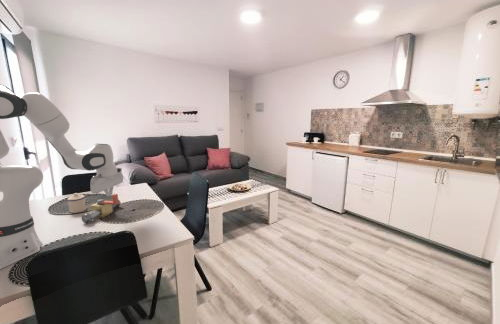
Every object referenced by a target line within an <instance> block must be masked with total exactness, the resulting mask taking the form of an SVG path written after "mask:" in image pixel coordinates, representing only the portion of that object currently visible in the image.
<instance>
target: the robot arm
mask: <svg viewBox="0 0 500 324" xmlns="http://www.w3.org/2000/svg"><path fill="white" fill-rule="evenodd" d="M18 117H25V118H26V119H28V120H29V121H30V123H31V124H32V125H33V126H34V127H35V128H36V129H37V130H39V132H40V133H41V134H42V135H43V137H45V139H46V140H47V141H48V142H49V143H50V145H51V146H52V147H53V148H54V149H55V151H57V153H58V154H59V155H60V156H61V159H62V161H63V164H64V165H65V166H66V167H67V168H68V169H70V170H81V171H88V172H89V171H90V172H91V171H94V170H95V172H96V174H95V175H93V176H92V177H91V179H90V182H89V183H90V185H89V186H90V192H91V193H92V194H99V193H102V192H104V193H105V195H106V196H107V197H110V196H112V195H113V190H114V189H115V188H114V187H115V186H118V185H120V184H122V183H123V182H124V176H123V173H122V171H123V168H122V167H115V164H114V153H113V149H112V146H111V145H110V144H107V143H94V144H93V145H92V147H90V148H89V149H87V150H85V151H83V150H78V149H76V148H75V147H74V146H73V145H72V144H71V143H70V141H69V140H68V139H67V138H66V136H65V134H67V132H68V131H69V129H70V123H69V121H68V119H67V117H66V116H65V115H64V114H63V112H62V111H61V110H60V109H59V108H58V107H57V106H56V105H55V104H54V103H53V102H52V101H51V100H49V99H48V97H46V96H45V95H44V94H42V93H39V92H27V93H24V94H16V93H15V92H13V91H12V90H11V89H10V88H9V87H7V86H5V85H3V84H0V120H7V119H8V120H9V119H13V118H18ZM9 152H10V147H9V144H8V143H7V140H6V139H5V136H4V134H3V132H2V130H1V129H0V160H1V159H4V157H6V156H7V155H8V154H9ZM43 181H44V173H43V172H42V170H41V169H40V168H39V167H37V166H34V165H28V164H27V165H25V164H17V165H15V164H13V165H11V164H10V165H3V164H2V163H1V162H0V193H2V194H3V197H2V199H1V200H0V270H2V269H4V268H6V267H8V266H11V265H12V264H14V263H17V262H19V261H21V260H23V259H25V258H28V257H29V256H32V255H34V254H35V253H38V252H40V251H41V247H42V245H43V243H42V241H41V240H40V238H39V236H38V235H37V231H36V229H35V222H34V217H33V216H32V214H31V209H30V198H31V195H32V193H33V192H34V191H35V190H36V189H37V188H38V187H40V185H41V184H42V183H43Z"/></svg>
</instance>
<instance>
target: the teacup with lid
mask: <svg viewBox="0 0 500 324" xmlns="http://www.w3.org/2000/svg"><path fill="white" fill-rule="evenodd" d="M66 200H67V204H68V210H69V213H70V212H71V214H77V213H78V212H79V213H81V212H85V211H86V210H87V203H86V202H87V201H86V195H85V194H78V193H77V192H75V193H73V195H71V196H69V197H68V198H67V199H66ZM84 210H85V211H84Z"/></svg>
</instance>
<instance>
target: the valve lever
mask: <svg viewBox="0 0 500 324" xmlns="http://www.w3.org/2000/svg"><path fill="white" fill-rule="evenodd" d="M111 196H112V197H111V199H112V200H105V199H101V198H100V199H98V200H96V203H97V204H111V205H117V204H118V203H119V201H120V200H119V196H118V193H114V194H112V195H111ZM118 200H119V201H118Z"/></svg>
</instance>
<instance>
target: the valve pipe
mask: <svg viewBox="0 0 500 324" xmlns="http://www.w3.org/2000/svg"><path fill="white" fill-rule="evenodd" d="M118 201H119V203H118V204H117V205H111V204H97V202H96V203H93V204H91V205H90V211H91V212H90V213H84V214H82V215H81V221H82V222H83V223H84V224H90V223H91V222H92V221H93V220H94V219H96V218H98V219H104V218H106V217H107V216H109V215H111V214H113V213H112V212H114V211H113V209H115V208H119V207H120V206H121V205H122V204H121V200H120V199H118ZM110 213H111V214H110ZM105 216H106V217H105ZM103 217H104V218H103Z"/></svg>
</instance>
